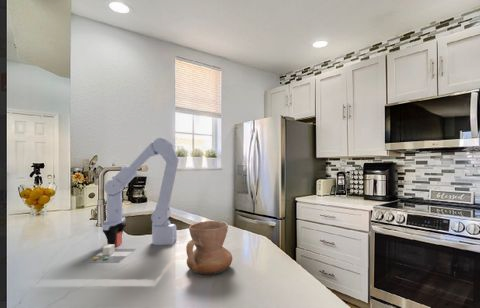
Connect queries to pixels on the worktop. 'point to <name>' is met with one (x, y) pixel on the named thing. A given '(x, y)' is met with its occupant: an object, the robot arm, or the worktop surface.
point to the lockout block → (118, 239)
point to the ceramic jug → (208, 248)
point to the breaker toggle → (109, 249)
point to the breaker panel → (110, 256)
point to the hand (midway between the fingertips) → (114, 243)
